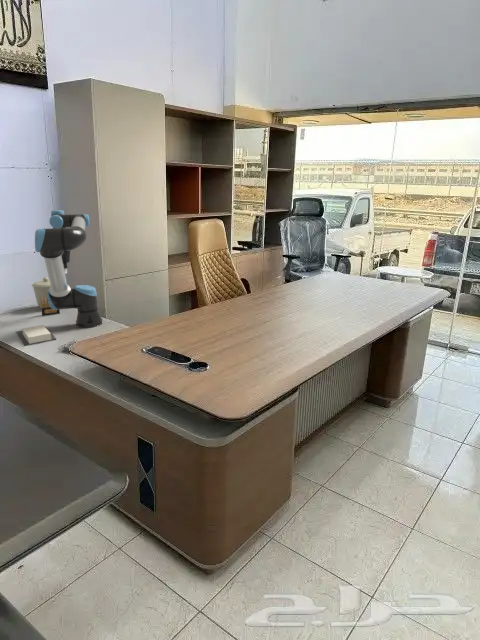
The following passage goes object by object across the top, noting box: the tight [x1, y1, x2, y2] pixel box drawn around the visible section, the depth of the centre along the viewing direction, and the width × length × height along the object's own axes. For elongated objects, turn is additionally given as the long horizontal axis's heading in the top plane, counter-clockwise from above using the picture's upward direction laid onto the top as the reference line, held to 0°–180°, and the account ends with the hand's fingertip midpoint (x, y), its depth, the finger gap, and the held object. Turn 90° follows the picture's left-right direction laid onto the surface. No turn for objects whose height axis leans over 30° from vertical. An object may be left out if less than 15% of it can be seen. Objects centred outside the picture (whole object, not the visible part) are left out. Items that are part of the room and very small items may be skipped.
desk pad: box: [15, 327, 57, 347], centre depth 243 cm, size 26×16×1 cm, turn 35°
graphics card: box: [57, 339, 77, 354], centre depth 221 cm, size 17×4×12 cm
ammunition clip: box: [40, 297, 61, 317], centre depth 282 cm, size 11×2×12 cm, turn 121°
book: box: [21, 324, 52, 345], centre depth 239 cm, size 4×11×18 cm
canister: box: [31, 276, 51, 309], centre depth 296 cm, size 18×18×21 cm
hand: (64, 273), depth 278 cm, fingers closed
